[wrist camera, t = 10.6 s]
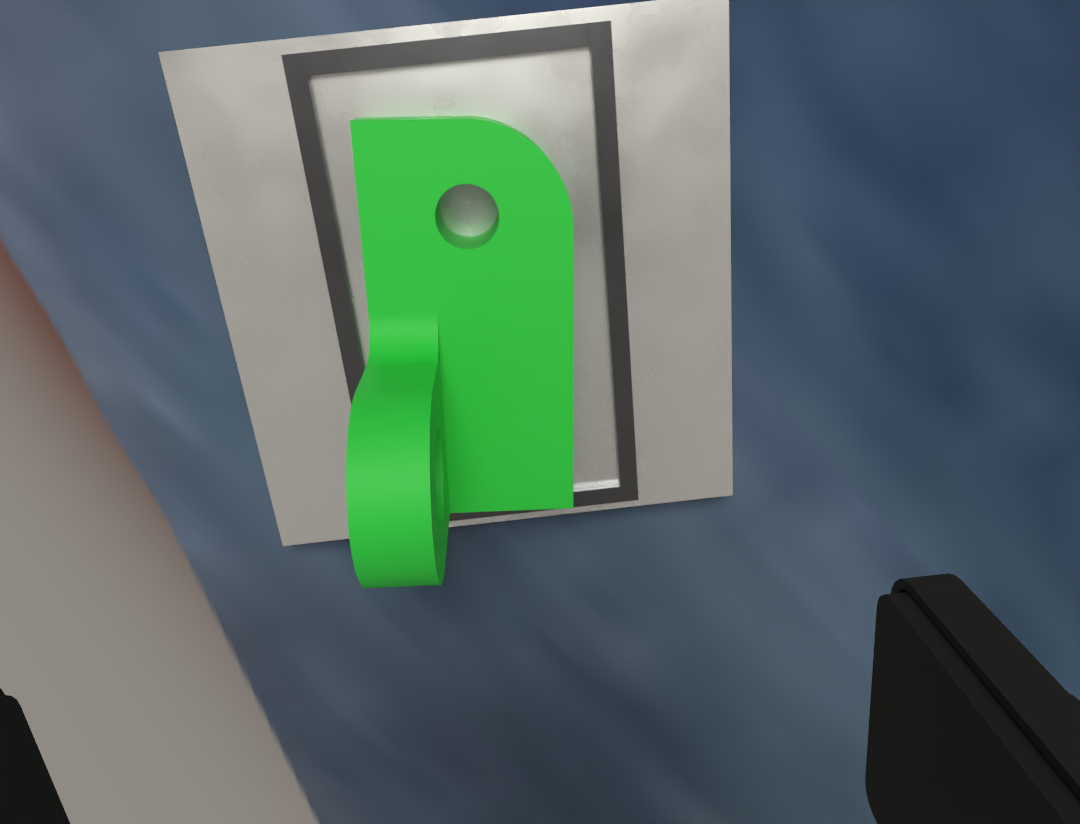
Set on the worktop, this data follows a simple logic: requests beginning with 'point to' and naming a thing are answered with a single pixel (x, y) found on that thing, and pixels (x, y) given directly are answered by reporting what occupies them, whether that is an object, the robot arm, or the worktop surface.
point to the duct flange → (480, 230)
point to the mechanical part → (457, 341)
